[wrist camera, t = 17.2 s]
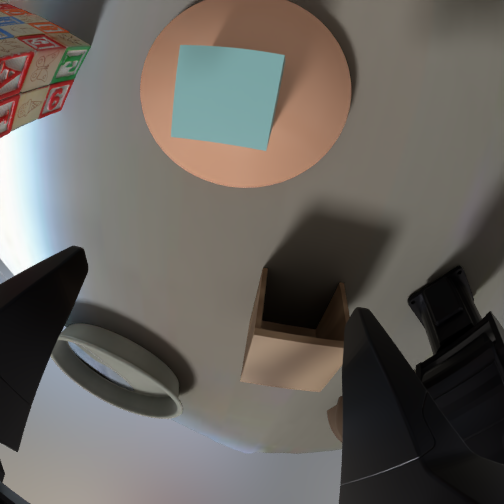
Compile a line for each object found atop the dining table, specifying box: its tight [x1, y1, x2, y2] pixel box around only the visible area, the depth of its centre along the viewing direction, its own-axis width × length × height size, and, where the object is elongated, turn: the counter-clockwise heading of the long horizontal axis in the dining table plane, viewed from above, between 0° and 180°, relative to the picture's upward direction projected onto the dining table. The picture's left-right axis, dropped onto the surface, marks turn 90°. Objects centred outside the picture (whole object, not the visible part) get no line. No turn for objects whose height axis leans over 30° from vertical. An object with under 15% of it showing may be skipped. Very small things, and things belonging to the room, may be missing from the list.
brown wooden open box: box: [240, 268, 350, 392], centre depth 23 cm, size 7×7×7 cm
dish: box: [140, 0, 351, 188], centre depth 15 cm, size 13×13×1 cm
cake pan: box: [51, 323, 183, 419], centre depth 38 cm, size 25×25×4 cm
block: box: [171, 45, 285, 151], centre depth 12 cm, size 4×4×5 cm
